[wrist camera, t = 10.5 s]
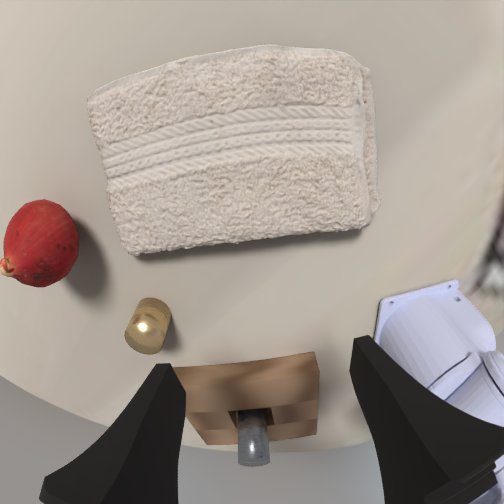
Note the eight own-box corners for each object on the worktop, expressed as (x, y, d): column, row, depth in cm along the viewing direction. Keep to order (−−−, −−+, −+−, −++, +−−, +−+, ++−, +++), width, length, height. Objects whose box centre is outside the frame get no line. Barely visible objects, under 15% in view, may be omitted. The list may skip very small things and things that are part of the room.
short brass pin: (164, 295, 21) (153, 324, 17) (175, 324, 22) (167, 353, 19) (132, 299, 21) (118, 326, 18) (145, 326, 22) (133, 354, 19)
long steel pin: (263, 391, 26) (269, 456, 19) (265, 405, 28) (270, 465, 20) (236, 393, 26) (235, 458, 19) (239, 407, 28) (240, 467, 20)
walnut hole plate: (314, 351, 24) (319, 371, 22) (313, 418, 30) (316, 434, 28) (170, 367, 24) (166, 386, 22) (208, 429, 30) (207, 444, 28)
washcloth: (369, 216, 19) (388, 231, 16) (132, 250, 19) (117, 270, 17) (355, 55, 14) (375, 45, 11) (97, 97, 14) (73, 95, 11)
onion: (109, 221, 18) (47, 276, 10) (79, 269, 19) (28, 330, 12) (58, 173, 16) (-16, 206, 9) (34, 226, 17) (-26, 271, 10)
